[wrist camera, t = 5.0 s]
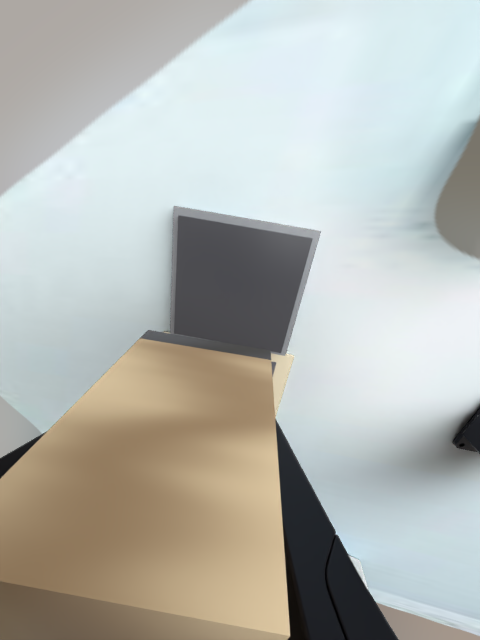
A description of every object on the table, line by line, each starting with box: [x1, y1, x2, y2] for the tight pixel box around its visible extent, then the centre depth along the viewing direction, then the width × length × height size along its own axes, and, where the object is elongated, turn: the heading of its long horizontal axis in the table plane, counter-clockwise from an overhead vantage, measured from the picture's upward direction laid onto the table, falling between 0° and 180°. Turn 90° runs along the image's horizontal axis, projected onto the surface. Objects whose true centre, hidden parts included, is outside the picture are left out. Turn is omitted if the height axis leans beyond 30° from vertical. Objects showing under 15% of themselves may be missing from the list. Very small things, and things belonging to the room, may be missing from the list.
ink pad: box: [170, 206, 321, 356], centre depth 18 cm, size 10×10×2 cm
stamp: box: [0, 330, 290, 640], centre depth 6 cm, size 4×4×6 cm
